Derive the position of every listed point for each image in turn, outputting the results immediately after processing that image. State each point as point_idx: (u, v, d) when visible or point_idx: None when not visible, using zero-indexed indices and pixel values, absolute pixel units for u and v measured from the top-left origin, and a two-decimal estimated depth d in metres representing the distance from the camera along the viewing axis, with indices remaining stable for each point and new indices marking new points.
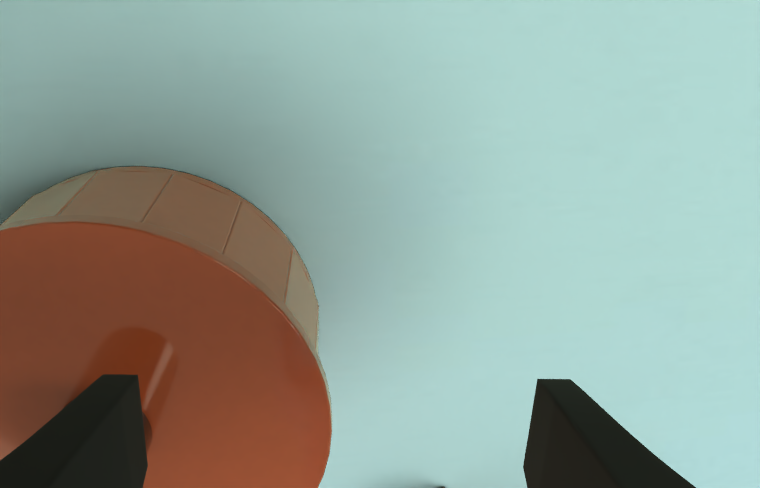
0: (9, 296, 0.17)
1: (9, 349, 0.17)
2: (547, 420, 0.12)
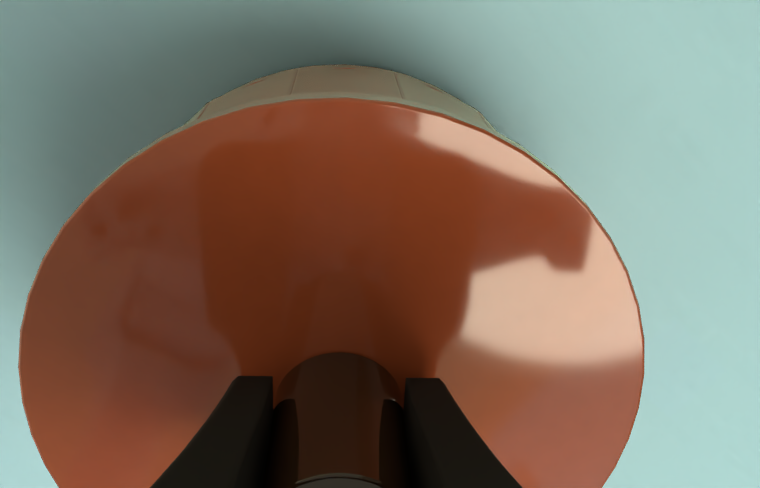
0: (433, 209, 0.12)
1: (359, 254, 0.12)
2: (408, 419, 0.12)
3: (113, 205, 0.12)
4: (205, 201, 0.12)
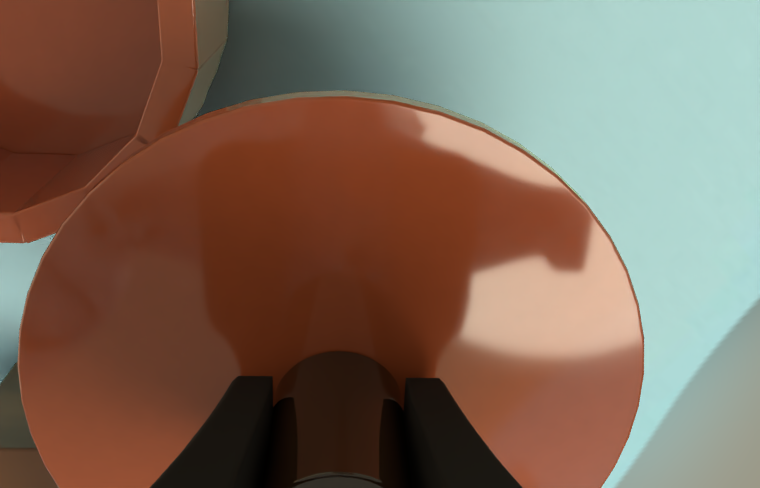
0: (432, 208, 0.12)
1: (359, 253, 0.12)
2: (409, 419, 0.12)
3: (112, 204, 0.12)
4: (204, 200, 0.12)
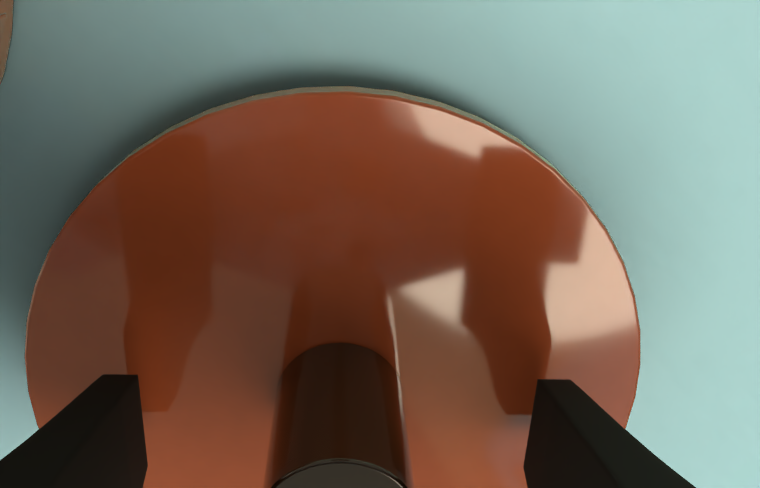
0: (432, 201, 0.12)
1: (360, 246, 0.13)
2: (547, 420, 0.12)
3: (118, 197, 0.12)
4: (208, 193, 0.12)
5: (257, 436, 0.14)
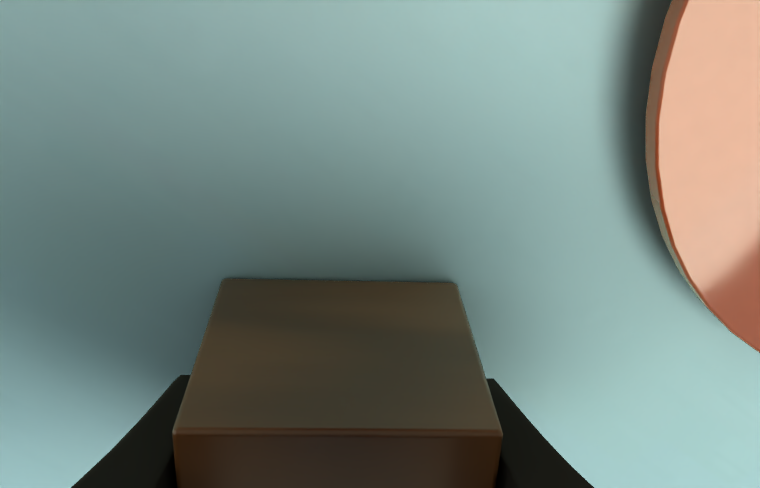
0: None
1: None
2: None
3: None
4: None
5: None
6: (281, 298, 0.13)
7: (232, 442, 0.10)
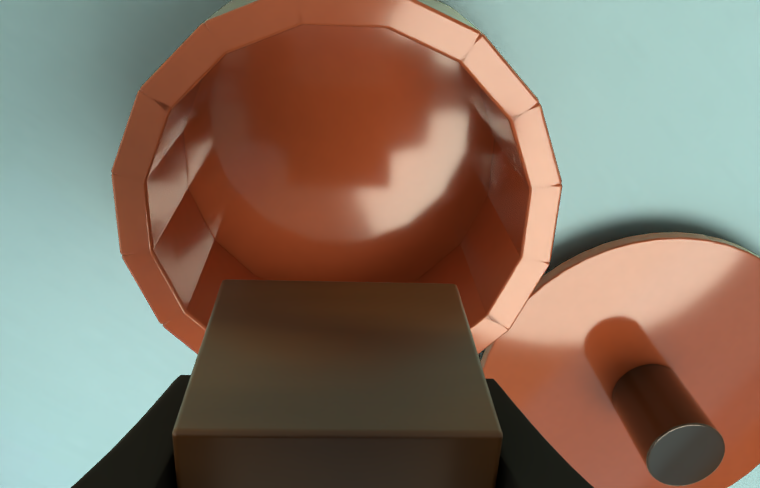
0: (714, 289, 0.23)
1: (672, 312, 0.24)
2: None
3: (554, 289, 0.23)
4: (600, 287, 0.23)
5: (595, 416, 0.25)
6: (281, 299, 0.13)
7: (232, 443, 0.10)
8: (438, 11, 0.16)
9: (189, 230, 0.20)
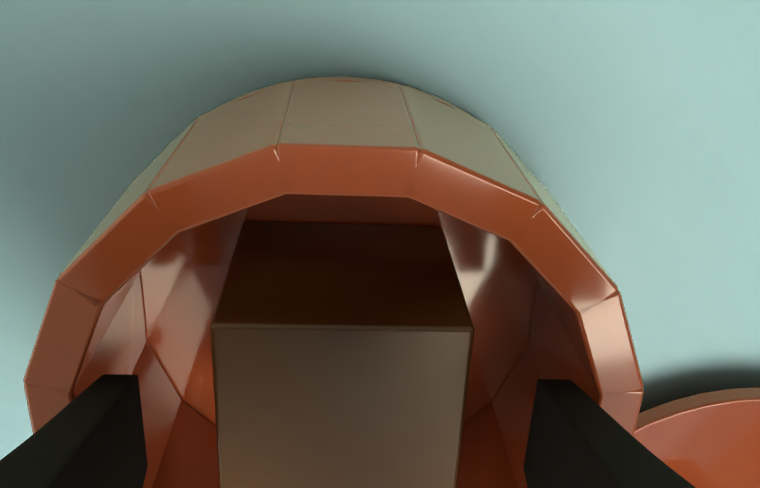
0: None
1: (754, 482, 0.19)
2: (547, 420, 0.12)
3: None
4: (667, 454, 0.18)
5: None
6: (293, 235, 0.15)
7: (258, 334, 0.12)
8: (481, 175, 0.11)
9: (145, 406, 0.16)
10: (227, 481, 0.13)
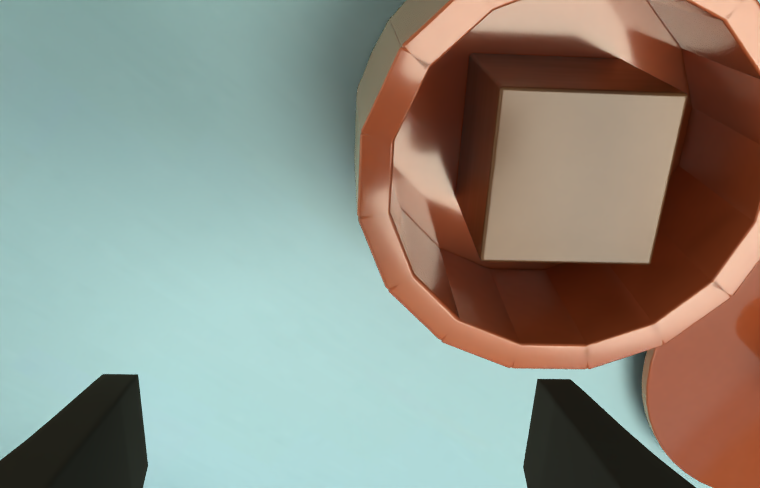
0: None
1: None
2: (547, 420, 0.12)
3: None
4: None
5: None
6: (516, 59, 0.20)
7: (533, 95, 0.16)
8: None
9: (393, 197, 0.20)
10: (491, 222, 0.18)
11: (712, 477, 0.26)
